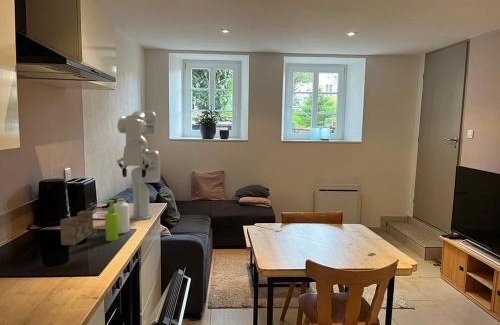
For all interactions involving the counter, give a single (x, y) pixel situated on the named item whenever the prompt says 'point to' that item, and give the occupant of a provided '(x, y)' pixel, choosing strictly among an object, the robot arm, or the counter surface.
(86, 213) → the bottle rest
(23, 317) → the counter surface
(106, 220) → the soap dispenser
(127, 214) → the potion bottle
